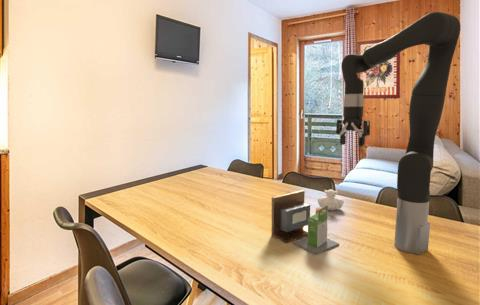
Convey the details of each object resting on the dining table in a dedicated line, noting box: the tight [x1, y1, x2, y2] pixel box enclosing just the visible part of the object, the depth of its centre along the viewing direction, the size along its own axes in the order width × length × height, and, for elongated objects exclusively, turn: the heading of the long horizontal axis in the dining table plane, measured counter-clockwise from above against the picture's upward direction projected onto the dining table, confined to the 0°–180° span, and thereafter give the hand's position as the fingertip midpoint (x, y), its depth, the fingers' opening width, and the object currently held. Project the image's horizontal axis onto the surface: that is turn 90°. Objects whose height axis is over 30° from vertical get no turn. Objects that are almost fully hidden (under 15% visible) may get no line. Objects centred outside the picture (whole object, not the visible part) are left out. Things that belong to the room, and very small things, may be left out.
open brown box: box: [271, 189, 311, 244], centre depth 114 cm, size 8×16×15 cm, turn 124°
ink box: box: [307, 205, 329, 248], centre depth 104 cm, size 7×4×13 cm, turn 136°
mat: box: [293, 236, 340, 256], centre depth 106 cm, size 10×12×1 cm
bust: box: [317, 188, 345, 212], centre depth 140 cm, size 12×8×11 cm
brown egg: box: [314, 206, 325, 215], centre depth 126 cm, size 4×4×5 cm
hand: (351, 145), depth 124 cm, fingers open, 8 cm apart
